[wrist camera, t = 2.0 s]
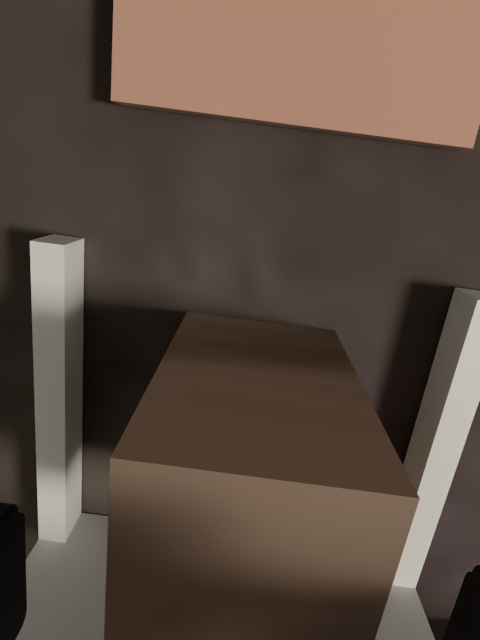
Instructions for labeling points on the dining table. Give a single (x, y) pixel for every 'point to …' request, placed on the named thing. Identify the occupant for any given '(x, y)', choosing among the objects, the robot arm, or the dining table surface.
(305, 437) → the walnut block
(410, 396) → the dining table surface
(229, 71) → the terracotta tile
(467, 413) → the shelf bay
